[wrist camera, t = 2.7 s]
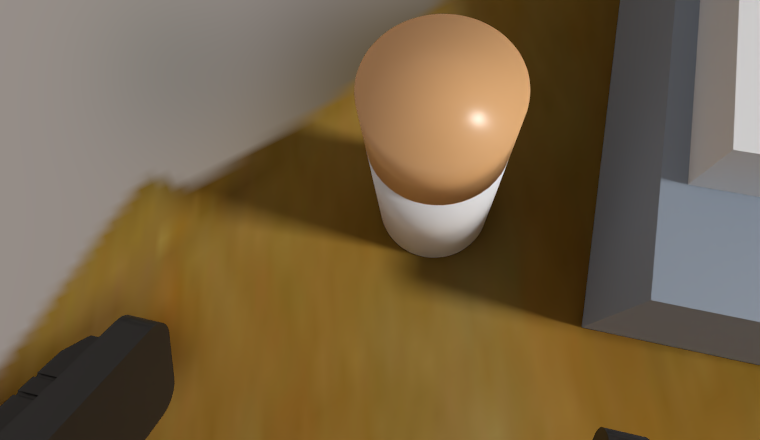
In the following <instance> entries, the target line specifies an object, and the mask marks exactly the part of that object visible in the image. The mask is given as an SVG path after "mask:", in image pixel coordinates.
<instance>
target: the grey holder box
mask: <svg viewBox="0 0 760 440" xmlns="http://www.w3.org/2000/svg"><path fill="white" fill-rule="evenodd" d="M582 327H583V328H587V329H592V330H597V331H602V332H606V333H611V334H616V335H620V336H625V337H630V338H635V339H639V340H644V341H649V342H653V343H658V344H663V345H667V346H672V347H677V348H682V349H686V350H691V351H696V352H700V353H705V354H710V355H714V356H719V357H724V358H729V359H733V360H738V361H743V362H747V363H752V364H757V365H760V0H620V5H619V14H618V22H617V31H616V39H615V48H614V56H613V65H612V73H611V82H610V90H609V99H608V107H607V116H606V125H605V133H604V142H603V150H602V159H601V167H600V176H599V184H598V193H597V201H596V210H595V218H594V227H593V235H592V244H591V252H590V261H589V269H588V278H587V287H586V295H585V304H584V312H583V321H582Z"/></svg>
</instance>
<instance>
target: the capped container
mask: <svg viewBox="0 0 760 440" xmlns="http://www.w3.org/2000/svg"><path fill="white" fill-rule="evenodd" d="M354 95H355V104H356V108H357V113H358V117H359V121H360V126H361V130H362V134H363V139H364V143H365V147H366V152H367V156H368V160H369V165H370V169H371V173H372V178H373V182H374V186H375V191H376V195H377V199H378V204H379V208H380V212H381V217H382V221H383V224H384V226H385V229H386V230H387V232H388V234H389V235H390V236H391V238H392V239H393V240H394V241H395V242H396V243H397V244H398V245H399V246H401V247H402V248H403V249H405V250H407V251H408V252H410V253H413V254H415V255H418V256H422V257H429V258H439V257H446V256H450V255H453V254H455V253H458V252H460V251H462V250H463V249H465V248H466V247H468V246H469V245H470V244H471V243H472V242H473V241H474V240H475V239H476V238H477V236H478V235H479V234H480V232H481V230H482V228H483V226H484V223H485V221H486V218H487V216H488V213H489V210H490V208H491V205H492V202H493V200H494V197H495V194H496V192H497V189H498V187H499V184H500V181H501V179H502V176H503V173H504V171H505V168H506V165H507V163H508V160H509V157H510V155H511V152H512V150H513V147H514V144H515V142H516V139H517V136H518V134H519V131H520V128H521V126H522V123H523V121H524V118H525V115H526V113H527V109H528V105H529V101H530V79H529V75H528V70H527V68H526V65H525V62H524V60H523V58H522V57H521V55H520V53H519V51H518V50H517V49H516V47H515V46H514V45H513V44H512V43H511V42H510V41H509V40H508V38H507V37H506V36H504V35H503V34H502V33H500V32H499V31H498V30H496V29H495V28H493V27H491V26H490V25H488V24H486V23H484V22H481V21H479V20H476V19H473V18H470V17H466V16H461V15H455V14H432V15H424V16H420V17H416V18H413V19H410V20H407V21H405V22H403V23H401V24H399V25H397V26H395V27H393V28H391V29H390V30H389V31H387V32H386V33H384V34H383V35H382V36H381V37H380V38H378V39H377V40H376V41H375V42H374V44H373V45H372V46H371V47H370V48H369V50H368V51H367V53H366V54H365V55H364V58H363V59H362V61H361V64H360V66H359V69H358V71H357V75H356V80H355V90H354Z"/></svg>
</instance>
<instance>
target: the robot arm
mask: <svg viewBox="0 0 760 440" xmlns="http://www.w3.org/2000/svg"><path fill="white" fill-rule="evenodd" d="M173 390H174V373H173V364H172V355H171V346H170V337H169V330H168V327H167V326H166V324H164V323H160V322H156V321H152V320H147V319H143V318H139V317H135V316H130V315H125V316H122V317H120V318H119V319H118V320H117V321H115V322H114V323H113V324H112V325H111V326H110V327H109V328H108V329H107V330H106V331H105V332H104V333H103V334H102V335H101V336H100V337H95V336H89V337H87V338H85V339H83V340H81V341H79V342H77V343H76V344H74V345H72V346H70V347H68V348H66V349H64V350H62V351H61V352H60V353H58V354H57V355H56V356H55V357H54V358H53V359H52V360H51V361H50V362H49V363H47V364H46V365H45V366H44V367H43V368H42V369H41V370H40V371H39V372H38V374H37V376H36V377H32V378H31V379H30V380H29V381H28V382H27V383H25V384H24V385H23V386H22V387H21V388H20V389H19V390H18V393H17V395H12V396H11V397H10V398H9V399H8V400H7V401H6V402H5V403H3V404H2V405H1V406H0V440H145V439H146V438H147V436H148V435H149V434H150V432H151V431H152V429H153V428H154V427H155V425H156V424H157V423H158V421H159V420H160V419H161V417H162V416H163V414H164V413H165V411H166V409H167V407H168V405H169V403H170V401H171V398H172V394H173ZM593 440H649V439H648V438H646V437H642V436H637V435H633V434H629V433H625V432H620V431H616V430H612V429H607V428H603V427H600V428H599V429H598V430H597V431H596V433H595V435H594V438H593Z"/></svg>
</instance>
